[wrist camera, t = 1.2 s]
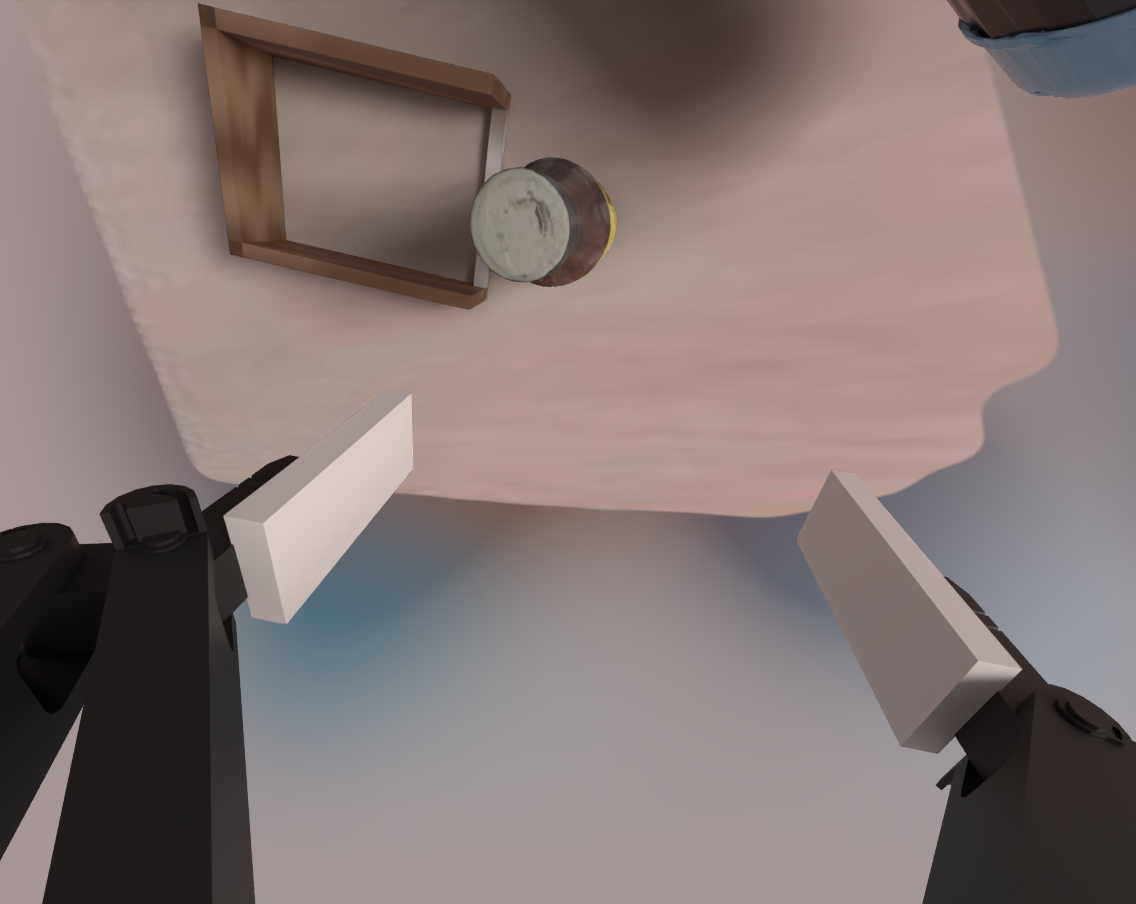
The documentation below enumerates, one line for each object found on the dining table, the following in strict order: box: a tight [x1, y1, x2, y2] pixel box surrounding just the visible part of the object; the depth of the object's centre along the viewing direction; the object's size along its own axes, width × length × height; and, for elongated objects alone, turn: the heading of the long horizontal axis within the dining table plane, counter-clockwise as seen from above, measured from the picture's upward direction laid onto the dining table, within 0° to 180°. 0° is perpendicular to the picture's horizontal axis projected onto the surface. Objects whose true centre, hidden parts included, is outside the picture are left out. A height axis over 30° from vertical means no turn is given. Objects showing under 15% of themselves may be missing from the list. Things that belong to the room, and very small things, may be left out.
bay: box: [198, 4, 511, 310], centre depth 33 cm, size 14×18×5 cm
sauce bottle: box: [470, 158, 617, 287], centre depth 26 cm, size 7×6×20 cm
